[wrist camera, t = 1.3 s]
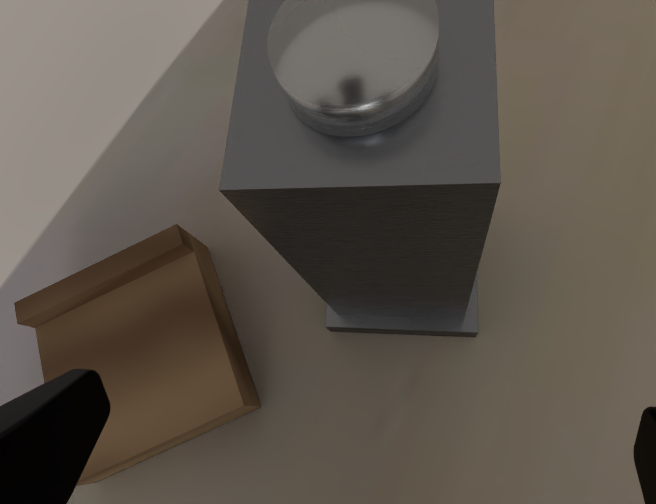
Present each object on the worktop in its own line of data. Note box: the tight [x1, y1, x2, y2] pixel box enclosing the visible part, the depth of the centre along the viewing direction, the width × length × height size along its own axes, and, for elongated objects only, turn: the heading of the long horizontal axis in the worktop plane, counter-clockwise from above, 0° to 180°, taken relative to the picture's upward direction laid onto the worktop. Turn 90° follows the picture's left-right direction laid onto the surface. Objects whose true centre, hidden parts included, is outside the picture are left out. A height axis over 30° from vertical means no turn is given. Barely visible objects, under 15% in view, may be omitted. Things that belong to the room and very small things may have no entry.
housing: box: [219, 0, 501, 337], centre depth 15 cm, size 6×6×14 cm
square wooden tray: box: [14, 224, 261, 486], centre depth 21 cm, size 8×8×3 cm
